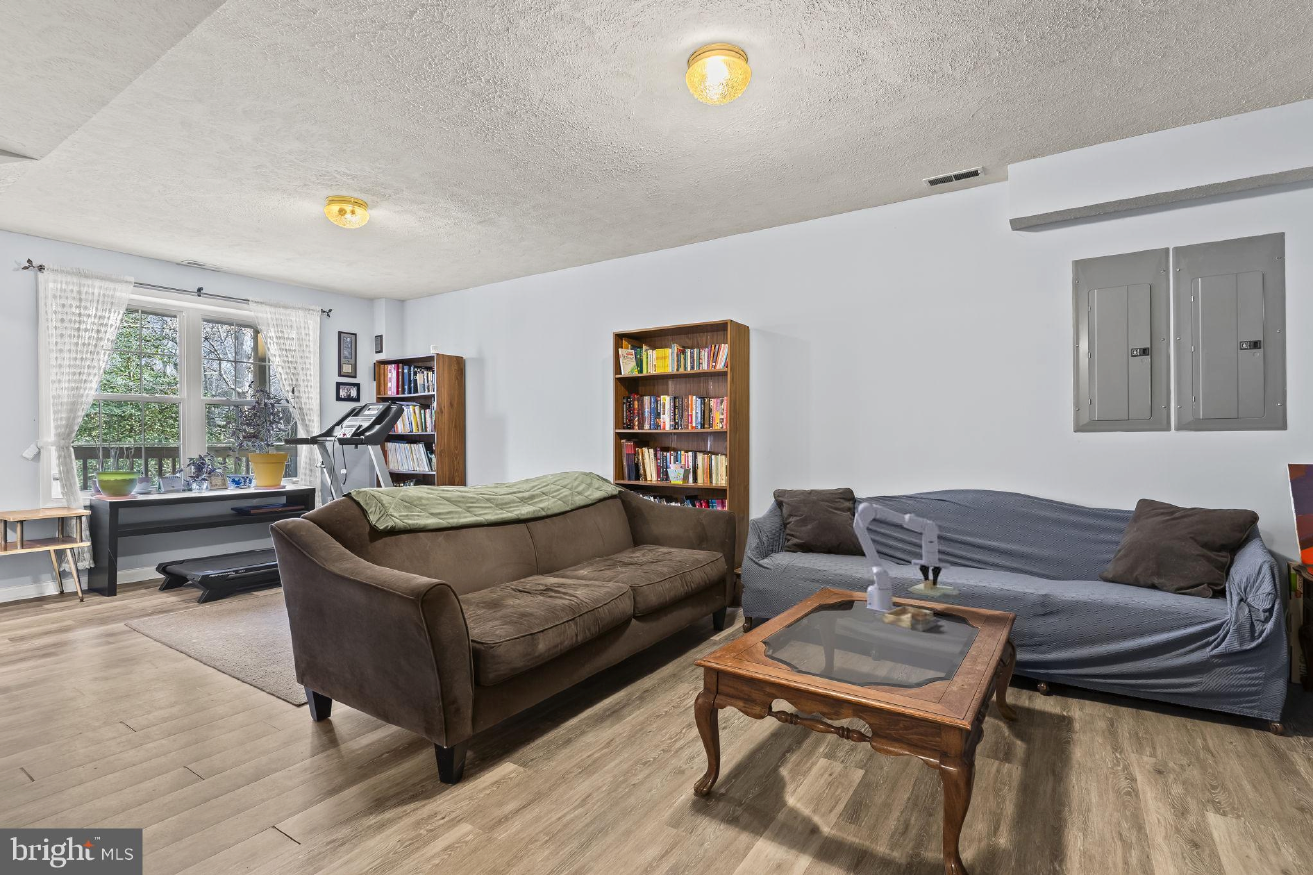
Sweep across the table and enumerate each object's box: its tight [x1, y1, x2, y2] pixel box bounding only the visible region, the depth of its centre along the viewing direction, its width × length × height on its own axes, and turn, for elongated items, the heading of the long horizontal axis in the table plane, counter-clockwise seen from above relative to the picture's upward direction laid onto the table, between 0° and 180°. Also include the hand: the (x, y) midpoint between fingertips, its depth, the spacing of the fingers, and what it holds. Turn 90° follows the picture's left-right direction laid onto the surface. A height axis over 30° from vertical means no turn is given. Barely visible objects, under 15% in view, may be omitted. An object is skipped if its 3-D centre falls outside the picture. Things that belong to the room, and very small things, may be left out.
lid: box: [907, 578, 960, 598], centre depth 252 cm, size 16×16×5 cm
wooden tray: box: [882, 605, 938, 633], centre depth 240 cm, size 16×17×4 cm
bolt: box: [911, 610, 927, 621], centre depth 231 cm, size 4×4×2 cm
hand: (931, 584), depth 254 cm, fingers closed on lid, 2 cm apart
